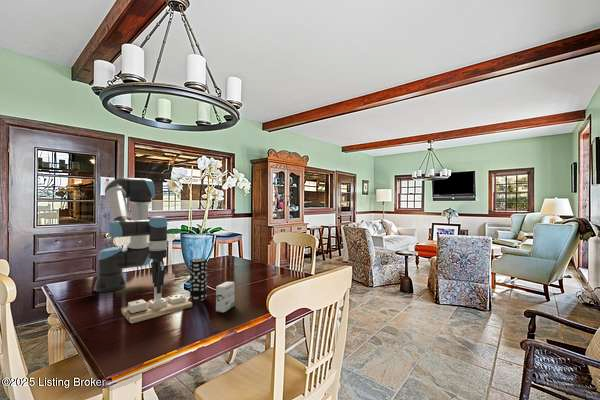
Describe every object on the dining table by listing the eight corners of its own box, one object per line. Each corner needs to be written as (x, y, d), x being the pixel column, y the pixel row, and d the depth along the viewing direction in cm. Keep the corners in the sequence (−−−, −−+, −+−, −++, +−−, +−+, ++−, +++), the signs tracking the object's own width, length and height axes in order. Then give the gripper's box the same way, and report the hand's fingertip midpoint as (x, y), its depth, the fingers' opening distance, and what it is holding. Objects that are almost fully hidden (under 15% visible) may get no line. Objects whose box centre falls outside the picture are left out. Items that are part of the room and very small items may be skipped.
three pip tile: (167, 302, 135) (167, 296, 135) (180, 299, 140) (180, 293, 140) (172, 306, 131) (172, 299, 131) (184, 303, 135) (184, 296, 135)
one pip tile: (127, 309, 123) (127, 302, 123) (142, 305, 127) (142, 298, 127) (131, 313, 119) (131, 305, 119) (146, 309, 123) (146, 302, 123)
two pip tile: (148, 307, 129) (148, 300, 129) (162, 303, 133) (162, 296, 134) (152, 310, 125) (152, 303, 125) (166, 307, 129) (166, 300, 129)
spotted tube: (187, 298, 144) (187, 260, 144) (202, 294, 150) (202, 257, 150) (194, 302, 138) (194, 262, 139) (209, 298, 145) (210, 260, 145)
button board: (121, 312, 126) (121, 308, 126) (179, 298, 144) (179, 294, 144) (130, 323, 114) (130, 318, 114) (192, 306, 133) (192, 302, 133)
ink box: (226, 304, 136) (226, 280, 136) (235, 306, 134) (235, 281, 134) (215, 311, 128) (215, 285, 128) (224, 312, 126) (224, 287, 126)
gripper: (145, 248, 131) (144, 298, 131) (154, 252, 122) (153, 305, 122) (161, 246, 137) (161, 294, 136) (171, 250, 127) (171, 301, 127)
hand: (157, 299), depth 129 cm, fingers closed
